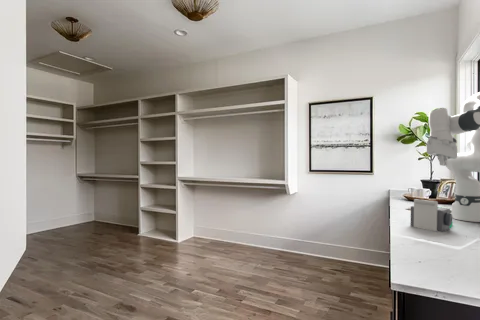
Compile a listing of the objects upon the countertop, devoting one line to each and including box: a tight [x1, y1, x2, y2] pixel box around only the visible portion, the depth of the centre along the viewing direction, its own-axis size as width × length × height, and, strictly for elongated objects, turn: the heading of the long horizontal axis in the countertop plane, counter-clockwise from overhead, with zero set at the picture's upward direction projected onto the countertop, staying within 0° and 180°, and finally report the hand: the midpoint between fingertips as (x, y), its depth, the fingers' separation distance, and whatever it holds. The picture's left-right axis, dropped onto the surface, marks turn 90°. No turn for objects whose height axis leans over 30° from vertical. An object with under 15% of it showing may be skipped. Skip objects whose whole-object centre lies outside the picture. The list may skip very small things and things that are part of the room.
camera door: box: [413, 198, 439, 232], centre depth 140 cm, size 2×10×14 cm, turn 36°
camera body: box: [410, 205, 453, 233], centre depth 143 cm, size 9×16×11 cm, turn 36°
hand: (443, 165), depth 143 cm, fingers closed
